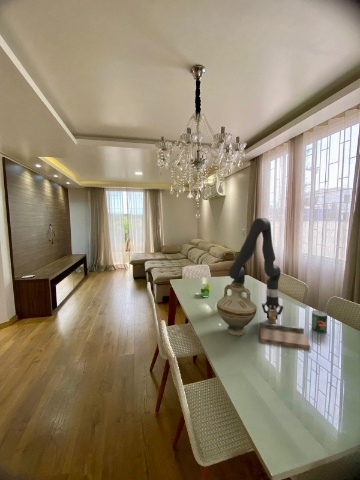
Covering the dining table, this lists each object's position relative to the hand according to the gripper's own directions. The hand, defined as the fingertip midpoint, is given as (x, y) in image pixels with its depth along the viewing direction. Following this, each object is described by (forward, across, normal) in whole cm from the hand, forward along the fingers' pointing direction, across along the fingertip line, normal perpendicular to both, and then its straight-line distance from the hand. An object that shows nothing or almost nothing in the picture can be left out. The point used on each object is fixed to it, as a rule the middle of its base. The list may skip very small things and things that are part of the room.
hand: (272, 319), depth 142 cm
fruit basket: (+2, -54, +36) cm, 65 cm away
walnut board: (+1, +4, -20) cm, 20 cm away
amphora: (+2, -22, -20) cm, 30 cm away
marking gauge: (+1, 0, -3) cm, 3 cm away
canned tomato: (+1, +26, -5) cm, 27 cm away
